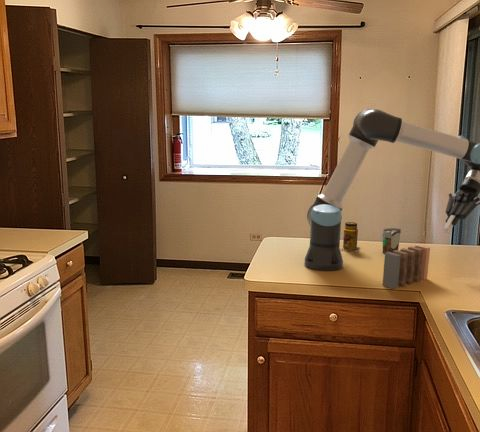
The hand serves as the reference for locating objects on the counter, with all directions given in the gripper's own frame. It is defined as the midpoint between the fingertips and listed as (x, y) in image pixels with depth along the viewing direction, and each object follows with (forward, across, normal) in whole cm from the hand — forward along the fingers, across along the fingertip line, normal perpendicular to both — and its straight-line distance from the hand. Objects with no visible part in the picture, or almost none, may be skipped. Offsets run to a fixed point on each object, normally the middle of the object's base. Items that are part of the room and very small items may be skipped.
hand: (446, 230), depth 204 cm
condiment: (+14, +43, -9) cm, 46 cm away
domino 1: (+35, +1, +12) cm, 37 cm away
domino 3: (+28, +1, +5) cm, 29 cm away
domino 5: (+22, +1, -1) cm, 22 cm away
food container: (+8, +30, -16) cm, 34 cm away
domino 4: (+25, +1, +2) cm, 25 cm away
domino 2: (+31, +1, +8) cm, 33 cm away
